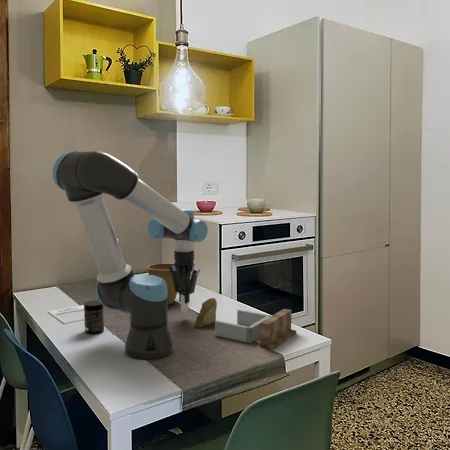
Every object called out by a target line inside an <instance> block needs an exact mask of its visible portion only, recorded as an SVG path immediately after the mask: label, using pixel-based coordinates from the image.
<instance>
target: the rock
mask: <svg viewBox="0 0 450 450" xmlns="http://www.w3.org/2000/svg"><path fill="white" fill-rule="evenodd" d="M217 303H218V302H217V299H216V298H215V297H213V298H212V297H211V298H209V299H207V300H205V301H204V302H202V304H201V308H200V311H199V313H198V314H197V316H196V319H195V322H194V325H193V327H195V328H196V329H197V328H198V329H199V328H202V327H206V326H208V325H211V324H215V321H217V309H218V307H217V306H218V304H217Z"/></svg>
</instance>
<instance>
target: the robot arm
mask: <svg viewBox="0 0 450 450" xmlns="http://www.w3.org/2000/svg"><path fill="white" fill-rule="evenodd" d="M52 178H53V179H52V180H53V182H54V183H55V185H56V186H57V187H58V188H60V189H61V190H62V191H65V195H66V198H67V200H68V202H69V203H71V204H73V205H75V207H76V209H77V210H76V211H77V212H78V215H79V219H80V221H81V224H82V227H83V229H84V232H85V235H86V237H87V241H88V243H89V246H90V249H91V252H92V254H93V257H94V258H93V259H94V260H95V263H96V266H97V270H98V272H99V273H98V274H97V276H96V280H97V281H96V286H95V296H96V298H97V299H96V300H99V302H100V303H101V304H102V305H104V307H106V308H108V309H110V310H114V311H117V312H121V313H125V314H127V315H129V316H130V317H129V321H130V325H129V331H128V334H127V338H126V342H125V345H124V352H125V353H124V354H125V355H126V356H128V357H130V358H132V359H136V360H155V359H156V360H157V359H161V358H165V357H166V356H169V355H171V353H173V352H174V341H173V339H172V336H171V333H170V330H169V325H168V324H169V322H168V315H169V314H168V312H169V311H168V308H169V306H168V291H167V284H166V282H165V280H164V279H162V278H160V277H158V276H154V275H149V274H137V275H135V274H134V273H135V272H134V271H133V268H132V266H131V265H130V264H128V263H126V261H125V258H124V256H123V252H122V249H121V247H120V244H119V239H118V236H117V234H116V231H115V228H114V225H113V223H112V220H111V216H110V214H109V213H110V212H109V211H108V207H107V204H106V202H105V198H104V196H105V194H106V195H109V196H111V197H113V198H114V199H116V200H118V201H123V200H124V201H126V202H127V203H129V204H130V205H132V206H133V207H135V208H136V209H138V210H139V211H140V212H142V213H144V214H145V215H146V216H148V217H150V219H149V220H148V222H147V232H148V234H149V236H150V237H151V238H152V239H155V240H156V239H173V249H174V251H173V259H174V263H173V264H174V265H173V266H172V267H169V270H170V272H171V274H172V279H173V284H174V289H175V292H177V294H178V296H179V297H178V301H179V303H180V312H181V313H182V312H183V313H185V312H188V311H189V304H190V301H191V300H190V297H191V294H193V293H195V289H196V285H197V280H198V279H197V278H198V275H199V273H200V272H201V270H200V269H199V268H196V267H195V264H194V260H195V251H194V249H195V243H201V242H203V241H204V240H205V239H206V238H207V235H208V231H209V228H208V225H207V223H206V221H204V220H202V219H195V212H194V210H193V209H189V208H179V207H177V206H176V205H175V204H173V203H172V202H171V201H169V200H168V199H167V198H166V197H164V196H162V195H161V194H160V193H158V192H157V191H156V190H155V189H153V188H152V187H151V186H149V185H148V184H147V183H145V182H144V181H143V180H141V179H140V178H139V175H138V173H137V172H136V171H134V170H133V169H132V168H131V167H129V166H128V165H127V164H125V163H124V162H122V161H121V160H119V159H117V158H116V157H114V156H113V155H110V154H109V153H106V152H103V151H98V150H97V151H96V150H94V151H93V150H92V151H77V150H76V151H70V152H67V153H63V154H62V155H60V156H59V157H58V158H57V159H56V160H55V162H54V165H53V167H52ZM177 271H178V272H177Z"/></svg>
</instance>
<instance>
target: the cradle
mask: <svg viewBox="0 0 450 450" xmlns="http://www.w3.org/2000/svg"><path fill="white" fill-rule="evenodd" d="M236 312H237V313H236V316H237V317H236V323H237V324H236V323H231V322H227V321H222V320H217V319H216V321H215V322H214V336H217V337H221V338H225V339H229V340H235V341H239V342H242V343H243V342H244V343H249V344H252V343H253V342H255V341H256V340H258V339H260V323H261V322H262V321H264V320H266V319H267V318H269V317H271V316H272V315H270V314H266V313H260V312H254V311H249V310H243V309H237V311H236Z"/></svg>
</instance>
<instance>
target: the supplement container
mask: <svg viewBox="0 0 450 450" xmlns="http://www.w3.org/2000/svg"><path fill="white" fill-rule="evenodd" d="M83 305H84V310H83V312H84V315H83V316H84V317H83V318H84V320H83V321H84V332H85V333H86V334H87V335H99V334H101V333H103V332H104V331H105V311H104V310H105V308H104V307H105V306H104V305H102V304H101V303H100V302H99V300H98V299H95V300H88V301H85V302H84V303H83Z"/></svg>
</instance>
